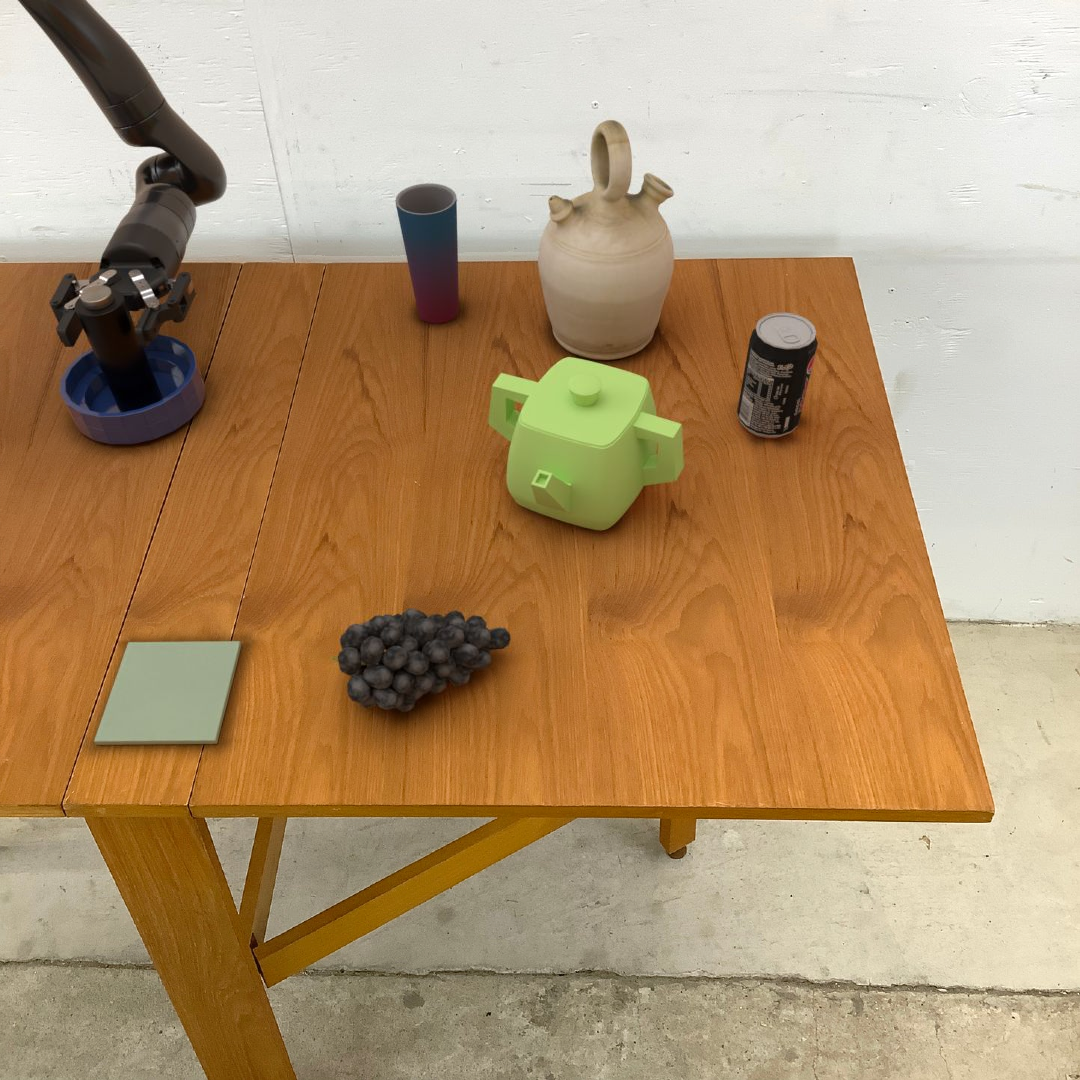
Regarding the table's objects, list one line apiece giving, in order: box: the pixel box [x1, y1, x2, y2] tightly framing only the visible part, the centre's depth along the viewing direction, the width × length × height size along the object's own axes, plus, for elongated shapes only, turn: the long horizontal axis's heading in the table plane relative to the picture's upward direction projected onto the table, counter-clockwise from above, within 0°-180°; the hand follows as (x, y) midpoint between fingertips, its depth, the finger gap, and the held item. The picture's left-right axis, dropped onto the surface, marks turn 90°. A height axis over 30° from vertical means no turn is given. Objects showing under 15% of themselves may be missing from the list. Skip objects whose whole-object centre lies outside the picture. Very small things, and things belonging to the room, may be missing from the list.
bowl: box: [59, 333, 207, 445], centre depth 108 cm, size 14×14×4 cm
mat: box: [93, 640, 243, 746], centre depth 84 cm, size 10×10×1 cm
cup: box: [395, 182, 460, 325], centre depth 115 cm, size 7×7×15 cm
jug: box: [537, 119, 675, 361], centre depth 108 cm, size 15×16×25 cm
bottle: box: [75, 285, 162, 412], centre depth 104 cm, size 5×5×14 cm
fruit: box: [330, 608, 512, 713], centre depth 81 cm, size 9×8×15 cm
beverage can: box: [736, 311, 819, 439], centre depth 101 cm, size 7×7×12 cm
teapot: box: [487, 356, 685, 531], centre depth 94 cm, size 18×20×13 cm
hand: (103, 339), depth 100 cm, fingers open, 7 cm apart
